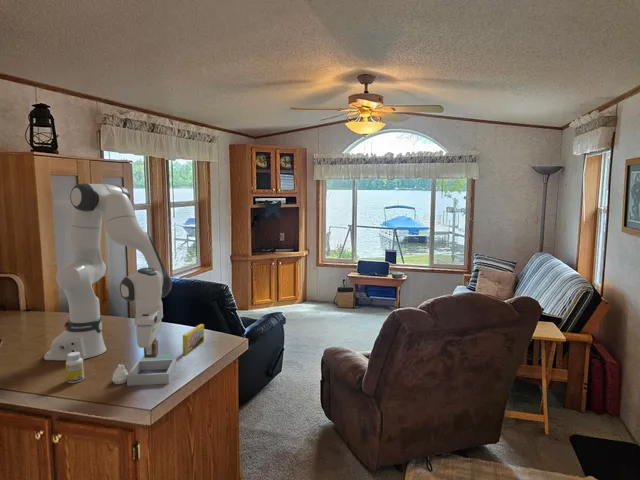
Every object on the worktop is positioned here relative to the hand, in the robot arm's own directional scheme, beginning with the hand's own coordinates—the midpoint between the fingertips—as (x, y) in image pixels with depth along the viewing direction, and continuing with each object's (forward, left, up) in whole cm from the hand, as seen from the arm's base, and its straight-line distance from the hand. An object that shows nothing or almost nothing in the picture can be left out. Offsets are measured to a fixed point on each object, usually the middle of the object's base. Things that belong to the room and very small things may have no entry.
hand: (151, 351), depth 164 cm
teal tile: (-2, +14, -9) cm, 17 cm away
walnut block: (0, 0, -2) cm, 2 cm away
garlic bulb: (-10, -3, -10) cm, 14 cm away
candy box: (+11, +28, -10) cm, 32 cm away
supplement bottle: (-26, 0, -10) cm, 28 cm away
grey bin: (0, 0, -9) cm, 9 cm away
